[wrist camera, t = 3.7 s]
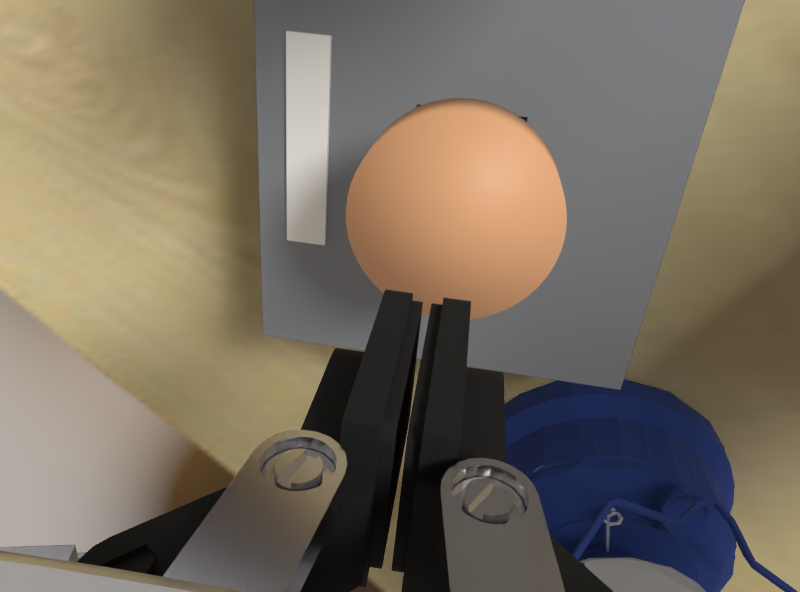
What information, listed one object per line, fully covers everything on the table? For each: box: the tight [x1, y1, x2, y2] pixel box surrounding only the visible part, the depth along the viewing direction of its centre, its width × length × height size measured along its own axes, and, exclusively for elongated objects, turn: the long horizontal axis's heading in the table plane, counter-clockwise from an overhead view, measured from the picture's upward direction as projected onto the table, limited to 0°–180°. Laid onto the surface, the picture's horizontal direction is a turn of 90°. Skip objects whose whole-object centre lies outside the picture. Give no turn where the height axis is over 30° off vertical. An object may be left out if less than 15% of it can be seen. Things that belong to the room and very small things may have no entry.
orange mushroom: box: [346, 98, 567, 319], centre depth 22 cm, size 6×6×8 cm
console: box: [254, 0, 745, 390], centre depth 26 cm, size 18×16×6 cm
